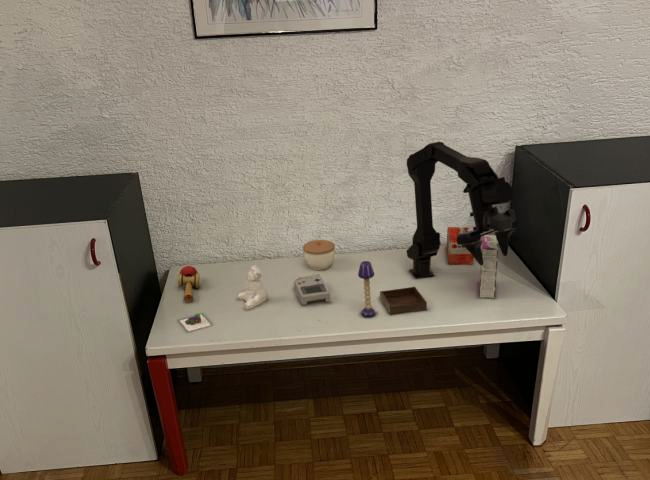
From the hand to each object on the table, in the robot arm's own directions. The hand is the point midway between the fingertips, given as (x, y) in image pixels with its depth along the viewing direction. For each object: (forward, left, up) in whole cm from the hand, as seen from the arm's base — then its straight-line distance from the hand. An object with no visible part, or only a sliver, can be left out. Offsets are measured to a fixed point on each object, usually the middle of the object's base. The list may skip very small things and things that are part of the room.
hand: (493, 260), depth 196 cm
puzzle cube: (-17, -86, -16) cm, 89 cm away
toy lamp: (-8, -35, -16) cm, 40 cm away
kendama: (-40, -86, -16) cm, 97 cm away
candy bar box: (-12, +4, -16) cm, 21 cm away
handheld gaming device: (-25, -49, -16) cm, 57 cm away
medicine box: (-40, +6, -16) cm, 44 cm away
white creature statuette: (-26, -67, -16) cm, 73 cm away
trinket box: (-46, -42, -16) cm, 64 cm away
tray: (-11, -23, -16) cm, 30 cm away
